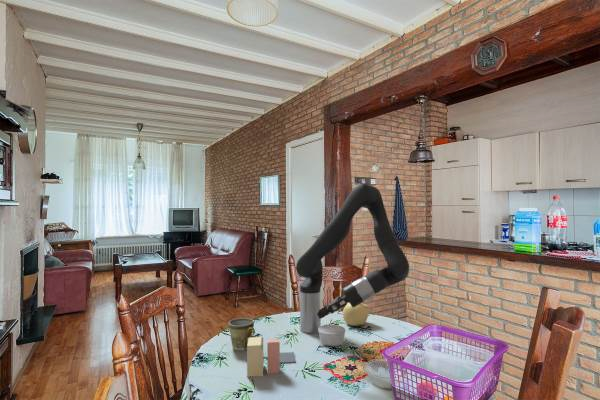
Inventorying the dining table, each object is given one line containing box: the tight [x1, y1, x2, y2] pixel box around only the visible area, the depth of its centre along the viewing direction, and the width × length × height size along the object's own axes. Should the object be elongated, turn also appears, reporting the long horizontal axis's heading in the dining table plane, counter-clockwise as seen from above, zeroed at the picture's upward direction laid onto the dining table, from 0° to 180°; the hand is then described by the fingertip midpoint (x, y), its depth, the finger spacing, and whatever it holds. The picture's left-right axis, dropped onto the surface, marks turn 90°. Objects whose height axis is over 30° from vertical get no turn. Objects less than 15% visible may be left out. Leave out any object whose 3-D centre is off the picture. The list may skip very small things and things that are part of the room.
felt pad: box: [280, 351, 296, 364], centre depth 121 cm, size 8×8×1 cm
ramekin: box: [317, 324, 346, 347], centre depth 137 cm, size 11×11×5 cm
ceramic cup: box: [228, 317, 256, 351], centre depth 131 cm, size 13×10×10 cm
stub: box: [266, 338, 281, 374], centre depth 112 cm, size 4×3×10 cm
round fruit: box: [342, 302, 370, 327], centre depth 159 cm, size 12×12×11 cm
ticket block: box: [246, 336, 267, 378], centre depth 111 cm, size 6×7×10 cm
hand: (319, 314), depth 118 cm, fingers open, 8 cm apart
